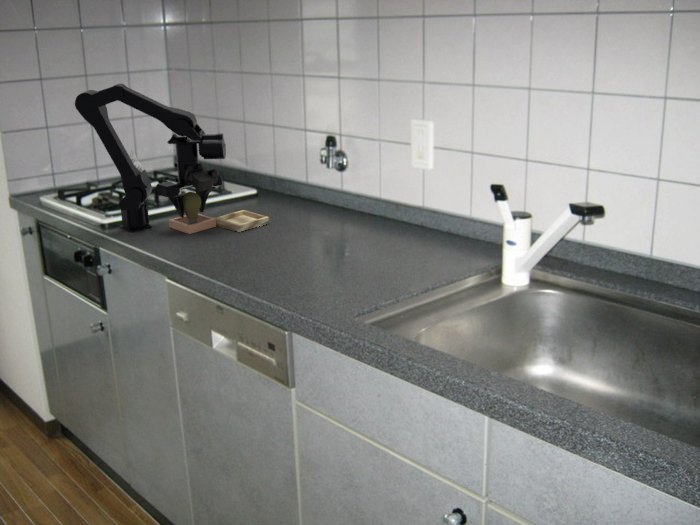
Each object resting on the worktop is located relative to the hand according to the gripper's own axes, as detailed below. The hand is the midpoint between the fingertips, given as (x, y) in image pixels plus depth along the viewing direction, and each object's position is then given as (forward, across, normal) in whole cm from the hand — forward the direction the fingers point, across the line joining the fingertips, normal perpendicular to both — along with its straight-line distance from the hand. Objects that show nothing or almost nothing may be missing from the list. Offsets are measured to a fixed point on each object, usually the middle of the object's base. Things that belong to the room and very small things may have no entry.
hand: (191, 214), depth 214 cm
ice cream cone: (+4, +9, +42) cm, 43 cm away
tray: (+4, +10, -8) cm, 14 cm away
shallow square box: (+4, 0, 0) cm, 4 cm away
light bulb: (+4, 0, 0) cm, 4 cm away
